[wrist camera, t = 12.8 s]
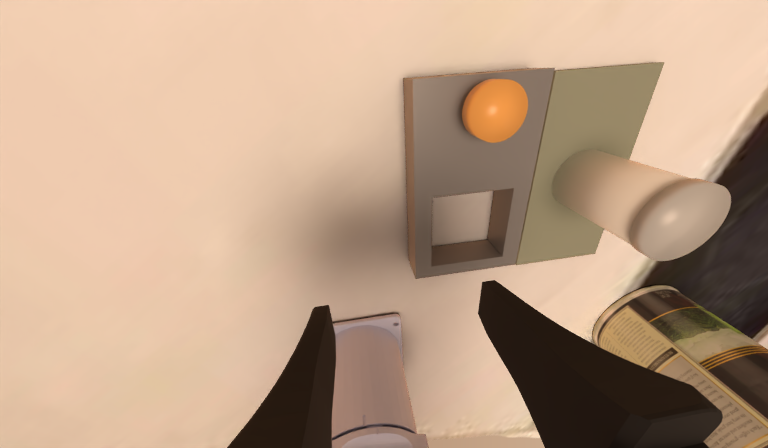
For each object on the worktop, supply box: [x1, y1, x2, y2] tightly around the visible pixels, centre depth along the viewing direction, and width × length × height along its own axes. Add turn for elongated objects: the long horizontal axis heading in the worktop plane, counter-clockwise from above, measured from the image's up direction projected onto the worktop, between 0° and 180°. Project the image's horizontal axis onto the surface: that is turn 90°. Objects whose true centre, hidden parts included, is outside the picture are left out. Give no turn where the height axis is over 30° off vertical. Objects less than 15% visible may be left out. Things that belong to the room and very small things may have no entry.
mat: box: [515, 62, 664, 265], centre depth 22 cm, size 15×8×1 cm, turn 4°
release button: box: [462, 79, 528, 143], centre depth 16 cm, size 3×3×4 cm
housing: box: [403, 68, 555, 279], centre depth 19 cm, size 14×8×2 cm, turn 4°
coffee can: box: [593, 285, 768, 448], centre depth 26 cm, size 10×10×14 cm
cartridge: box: [552, 149, 731, 261], centre depth 18 cm, size 5×5×8 cm
